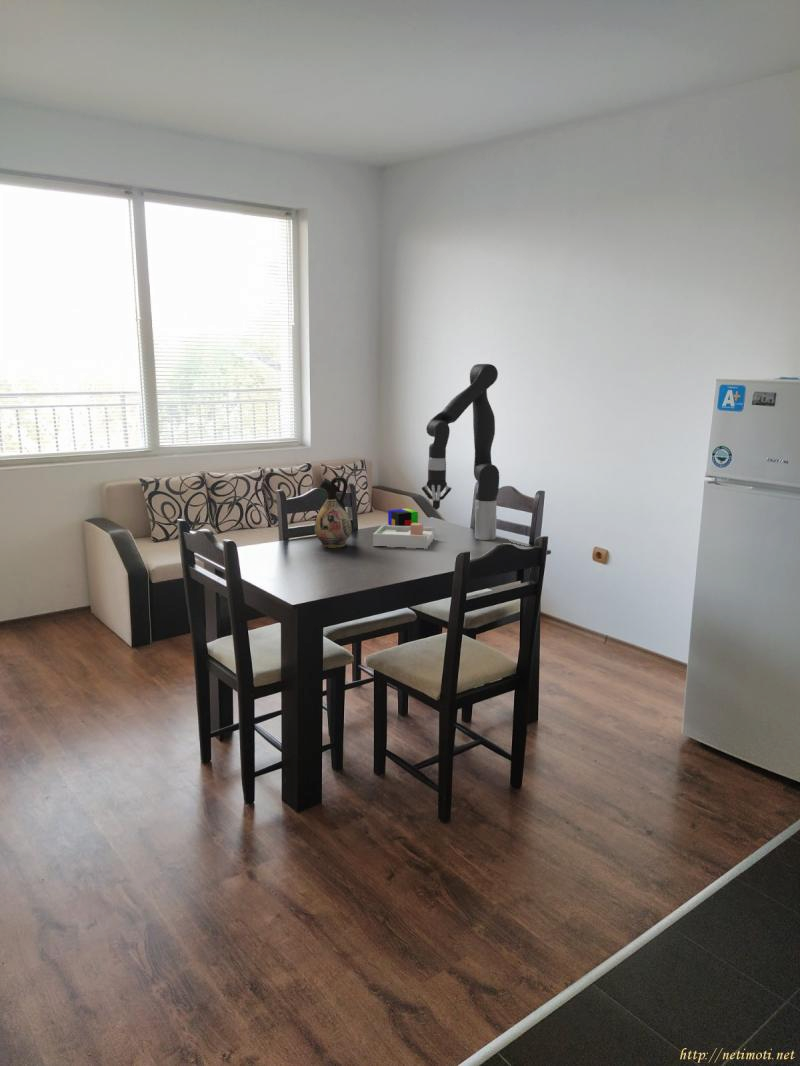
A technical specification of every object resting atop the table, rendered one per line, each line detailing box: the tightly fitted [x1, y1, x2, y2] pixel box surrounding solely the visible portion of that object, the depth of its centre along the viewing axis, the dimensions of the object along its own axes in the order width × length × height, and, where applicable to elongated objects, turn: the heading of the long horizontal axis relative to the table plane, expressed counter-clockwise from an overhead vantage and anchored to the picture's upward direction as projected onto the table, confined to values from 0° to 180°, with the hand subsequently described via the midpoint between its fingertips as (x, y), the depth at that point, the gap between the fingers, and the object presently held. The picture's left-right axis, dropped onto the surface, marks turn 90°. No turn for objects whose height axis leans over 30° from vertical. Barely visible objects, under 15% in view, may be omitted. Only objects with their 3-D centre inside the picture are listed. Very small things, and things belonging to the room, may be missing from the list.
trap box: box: [372, 524, 435, 550], centre depth 329 cm, size 23×18×6 cm
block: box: [410, 522, 424, 535], centre depth 327 cm, size 4×4×4 cm
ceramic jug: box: [314, 475, 352, 549], centre depth 321 cm, size 17×15×30 cm
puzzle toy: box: [387, 508, 419, 526], centre depth 349 cm, size 10×10×10 cm
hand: (436, 509), depth 323 cm, fingers closed
